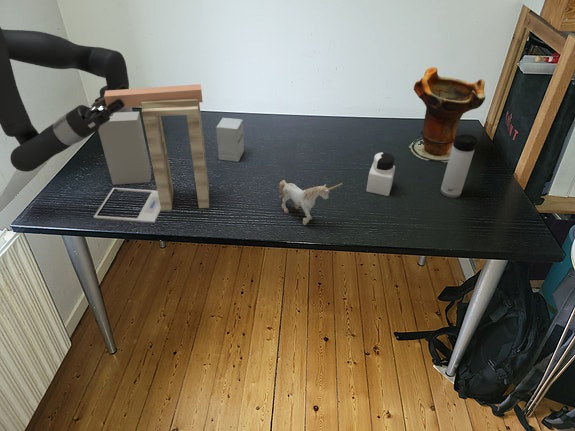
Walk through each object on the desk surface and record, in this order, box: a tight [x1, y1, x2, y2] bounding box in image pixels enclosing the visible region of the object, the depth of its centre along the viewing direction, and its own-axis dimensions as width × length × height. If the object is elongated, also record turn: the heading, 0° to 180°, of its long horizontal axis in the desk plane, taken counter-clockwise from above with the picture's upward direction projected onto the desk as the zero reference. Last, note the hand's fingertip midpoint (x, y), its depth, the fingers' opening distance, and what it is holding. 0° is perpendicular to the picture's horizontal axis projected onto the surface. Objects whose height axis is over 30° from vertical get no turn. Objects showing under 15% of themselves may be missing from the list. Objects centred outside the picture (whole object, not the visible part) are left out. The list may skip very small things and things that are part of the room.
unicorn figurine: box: [278, 179, 343, 226], centre depth 131 cm, size 7×20×13 cm, turn 62°
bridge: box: [141, 99, 210, 212], centre depth 130 cm, size 10×14×34 cm
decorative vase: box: [408, 67, 486, 163], centre depth 158 cm, size 21×23×28 cm
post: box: [97, 111, 152, 185], centre depth 142 cm, size 6×12×22 cm, turn 98°
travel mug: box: [440, 133, 478, 199], centre depth 140 cm, size 6×7×20 cm
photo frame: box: [93, 187, 161, 224], centre depth 138 cm, size 15×1×18 cm
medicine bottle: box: [365, 151, 396, 197], centre depth 143 cm, size 7×7×12 cm
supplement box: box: [215, 117, 245, 163], centre depth 157 cm, size 7×7×13 cm
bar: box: [104, 84, 204, 109], centre depth 119 cm, size 4×24×4 cm, turn 102°
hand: (124, 94), depth 118 cm, fingers open, 8 cm apart
